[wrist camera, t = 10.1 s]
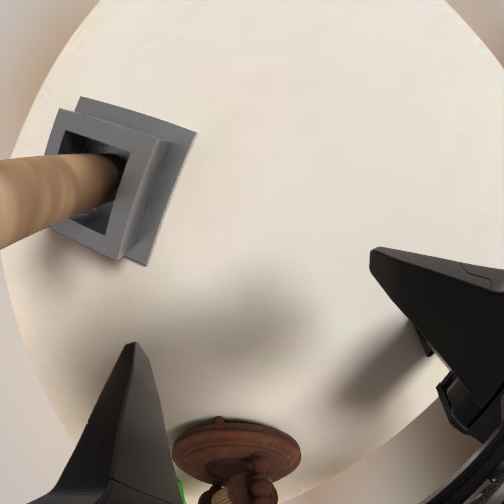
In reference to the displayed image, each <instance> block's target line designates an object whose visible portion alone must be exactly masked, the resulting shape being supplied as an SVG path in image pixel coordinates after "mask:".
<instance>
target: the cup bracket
mask: <svg viewBox="0 0 504 504" xmlns="http://www.w3.org/2000/svg"><path fill="white" fill-rule="evenodd" d="M197 134H198V133H196V132H194V131H191V130H188V129H186V128H183V127H180V126H177V125H174V124H172V123H169V122H166V121H163V120H160V119H157V118H154V117H151V116H148V115H145V114H141V113H138V112H135V111H132V110H128V109H125V108H122V107H118V106H115V105H111V104H108V103H104V102H100V101H97V100H93V99H89V98H85V97H81V96H80V99H79V101H78V104H77V106H76V109H75V111H70V110H65V109H60V108H59V111H58V113H57V116H56V119H55V122H54V125H53V128H52V131H51V134H50V137H49V140H48V144H47V147H46V151H45V154H44V156H48V155H64V154H90V153H113V154H116V155H118V156H120V157H121V158H122V159H123V160H124V161H125V163H126V167H125V170H124V173H123V176H122V179H121V182H120V185H119V188H118V191H117V195H116V198H115V200H114V201H112V202H109V203H106V204H104V205H101V206H98V207H96V208H93V209H90V210H88V211H85V212H83V213H80V214H78V215H75V216H73V217H71V218H68V219H66V220H63V221H61V222H59V223H56V224H54V225H52V226H49V228H51V229H53V230H55V231H57V232H59V233H61V234H63V235H65V236H67V237H69V238H71V239H73V240H75V241H77V242H79V243H81V244H83V245H85V246H87V247H89V248H91V249H93V250H95V251H97V252H99V253H101V254H103V255H105V256H107V257H109V258H112V259H114V260H116V261H117V260H119V259H120V258H121V257H122V256H123V255H124V256H126V257H128V258H131V259H133V260H135V261H137V262H139V263H142V264H144V265H146V266H147V264H148V263H149V261H150V258H151V255H152V252H153V248H154V245H155V242H156V239H157V236H158V233H159V230H160V228H161V225H162V222H163V219H164V216H165V213H166V211H167V208H168V205H169V202H170V200H171V197H172V195H173V192H174V189H175V187H176V184H177V182H178V179H179V177H180V174H181V172H182V169H183V167H184V164H185V162H186V159H187V157H188V155H189V152H190V150H191V148H192V145H193V143H194V141H195V139H196V136H197Z"/></svg>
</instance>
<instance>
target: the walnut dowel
mask: <svg viewBox="0 0 504 504" xmlns="http://www.w3.org/2000/svg"><path fill="white" fill-rule="evenodd" d="M125 167H126V163H125V161H124V160H123V159H122V158H121V157H120V156H118V155H116V154H113V153H90V154H64V155H48V156H35V157H25V158H15V159H7V160H0V250H1V249H3V248H5V247H7V246H9V245H11V244H13V243H15V242H17V241H19V240H21V239H23V238H26V237H28V236H30V235H32V234H34V233H36V232H38V231H41V230H43V229H45V228H47V227H49V226H52V225H54V224H56V223H59V222H61V221H63V220H66V219H68V218H71V217H73V216H75V215H78V214H80V213H83V212H85V211H88V210H90V209H93V208H96V207H98V206H101V205H104V204H106V203H109V202H112V201H114V200H115V198H116V195H117V191H118V188H119V185H120V182H121V179H122V176H123V173H124V170H125Z"/></svg>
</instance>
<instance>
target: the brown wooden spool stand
mask: <svg viewBox="0 0 504 504" xmlns="http://www.w3.org/2000/svg"><path fill="white" fill-rule="evenodd" d="M172 458H173V460H174V462H175V463H176V465H177V466H178V467H179V468H180V469H181V470H183V471H184V472H186V473H187V474H189V475H191V476H192V477H194V478H196V479H198V480H200V481H203V482H205V483H209V484H212V485H213V486H211V487H210V489H209V490H208V491H206V492H204V493H203V494H202V495H201V496H200V498H199V501H198V504H277V503H278V495H277V491H276V489H275V487H274V485H273V483H272V482H275V481H277V480H279V479H281V478H283V477H285V476H287V475H288V474H290V473H291V472H293V471H294V470H295V469H296V468H297V467H298V465H299V463H300V461H301V453H300V447H299V445H298V443H297V442H296V441H295V439H293V438H292V437H291V436H289V435H288V434H286V433H284V432H282V431H279V430H277V429H274V428H270V427H266V426H261V425H255V424H246V423H225V422H224V419H223V418H222V417H221V416H219V417H217V418H216V420H215V422H214V424H209V425H204V426H199V427H196V428H193V429H190V430H188V431H186V432H184V433H182V434H181V435H180V436H178V437H177V439H176V440H175V442H174V445H173V450H172ZM221 486H222V487H224V488H222V487H221Z"/></svg>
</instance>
